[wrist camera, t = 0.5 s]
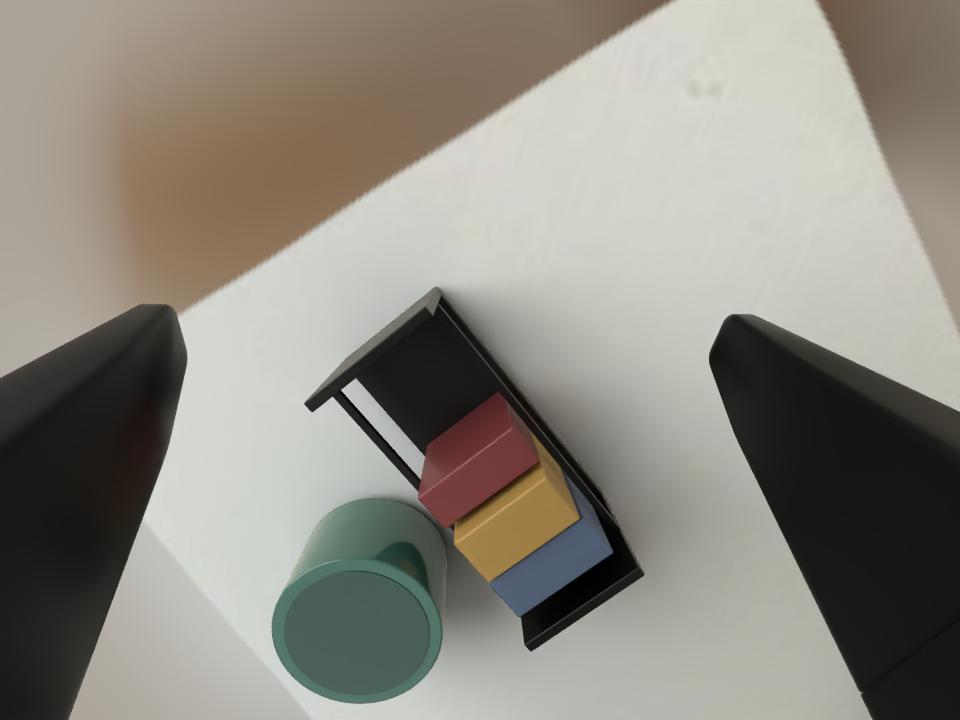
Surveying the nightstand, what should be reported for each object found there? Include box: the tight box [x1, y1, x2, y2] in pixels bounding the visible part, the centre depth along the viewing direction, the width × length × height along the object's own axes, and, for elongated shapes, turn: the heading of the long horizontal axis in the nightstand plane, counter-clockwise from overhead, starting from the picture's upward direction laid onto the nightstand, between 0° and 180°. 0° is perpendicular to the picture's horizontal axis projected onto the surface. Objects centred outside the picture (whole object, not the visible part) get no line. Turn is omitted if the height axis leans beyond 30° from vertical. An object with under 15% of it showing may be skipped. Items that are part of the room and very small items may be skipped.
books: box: [418, 391, 613, 617], centre depth 21 cm, size 6×4×5 cm
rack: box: [304, 287, 644, 651], centre depth 21 cm, size 12×5×6 cm, turn 38°
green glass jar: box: [272, 498, 447, 704], centre depth 23 cm, size 6×6×5 cm
